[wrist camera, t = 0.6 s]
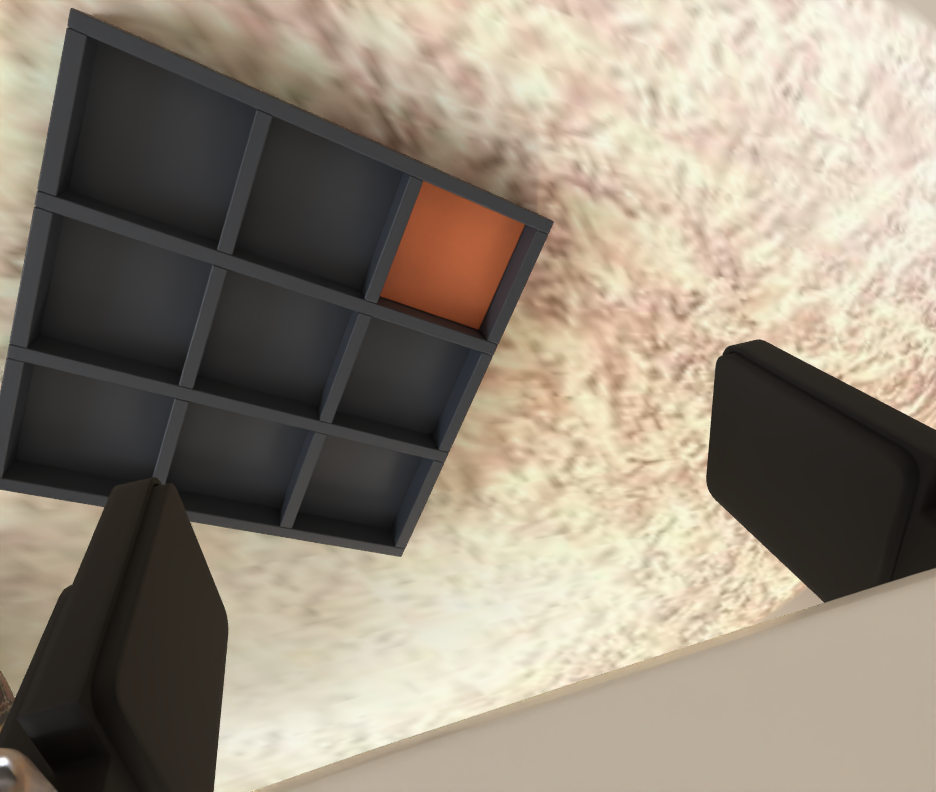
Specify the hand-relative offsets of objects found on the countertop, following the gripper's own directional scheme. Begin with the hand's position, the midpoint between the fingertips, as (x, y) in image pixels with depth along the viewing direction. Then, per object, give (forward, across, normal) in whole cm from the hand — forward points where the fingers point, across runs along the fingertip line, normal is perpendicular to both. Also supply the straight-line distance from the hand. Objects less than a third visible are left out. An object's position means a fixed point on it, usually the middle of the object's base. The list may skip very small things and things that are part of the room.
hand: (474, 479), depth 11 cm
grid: (+24, +5, +5) cm, 25 cm away
